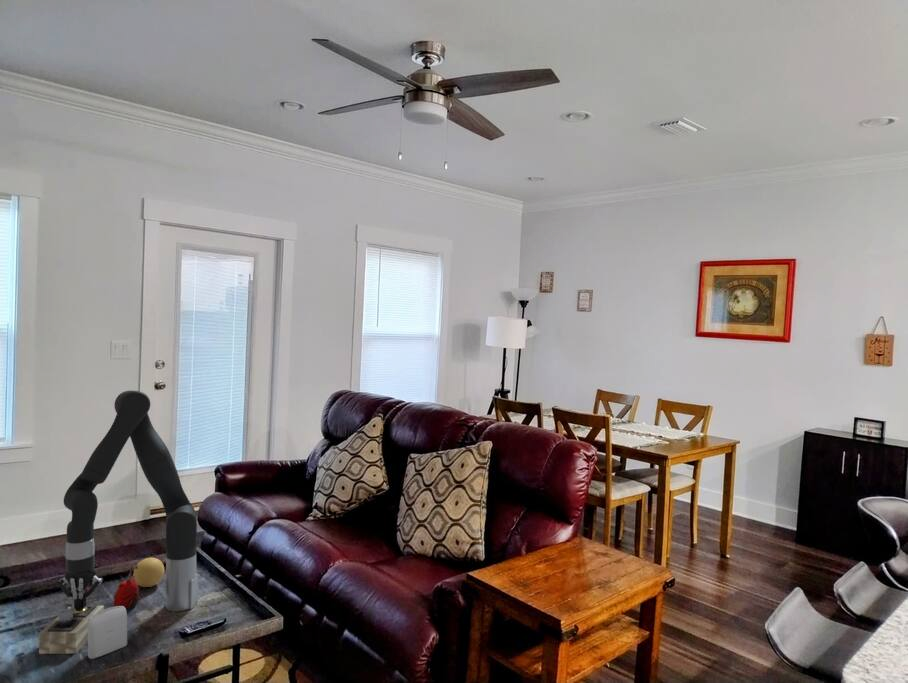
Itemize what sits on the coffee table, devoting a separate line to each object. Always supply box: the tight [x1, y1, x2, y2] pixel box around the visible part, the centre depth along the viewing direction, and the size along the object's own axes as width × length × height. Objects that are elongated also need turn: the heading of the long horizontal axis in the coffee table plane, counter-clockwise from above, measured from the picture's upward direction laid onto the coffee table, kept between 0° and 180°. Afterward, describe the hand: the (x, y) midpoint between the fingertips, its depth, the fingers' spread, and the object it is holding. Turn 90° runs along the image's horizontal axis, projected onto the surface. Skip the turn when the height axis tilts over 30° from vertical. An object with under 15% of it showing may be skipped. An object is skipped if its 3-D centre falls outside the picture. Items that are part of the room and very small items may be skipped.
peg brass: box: [73, 607, 87, 614], centre depth 184 cm, size 4×4×6 cm
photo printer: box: [87, 606, 128, 660], centre depth 174 cm, size 10×4×12 cm, turn 140°
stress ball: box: [132, 557, 165, 588], centre depth 214 cm, size 10×10×10 cm
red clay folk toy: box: [113, 563, 140, 611], centre depth 199 cm, size 8×7×15 cm
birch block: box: [38, 604, 105, 655], centre depth 180 cm, size 10×16×7 cm, turn 5°
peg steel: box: [57, 603, 74, 628], centre depth 176 cm, size 4×4×6 cm
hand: (80, 609), depth 184 cm, fingers closed
